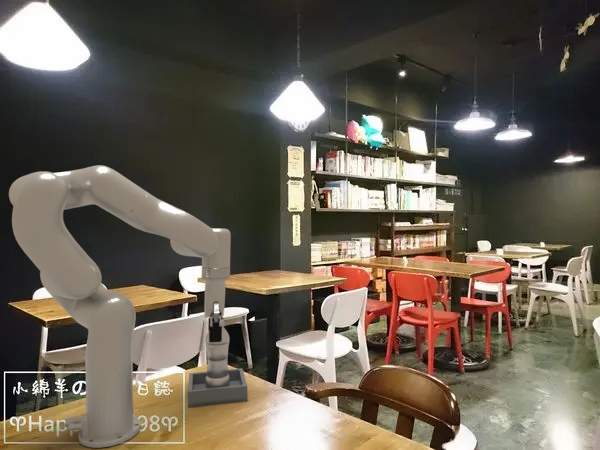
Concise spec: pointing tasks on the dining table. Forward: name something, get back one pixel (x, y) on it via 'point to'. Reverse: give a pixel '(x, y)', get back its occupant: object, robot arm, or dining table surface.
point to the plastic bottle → (217, 361)
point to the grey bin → (216, 389)
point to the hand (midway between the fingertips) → (214, 336)
